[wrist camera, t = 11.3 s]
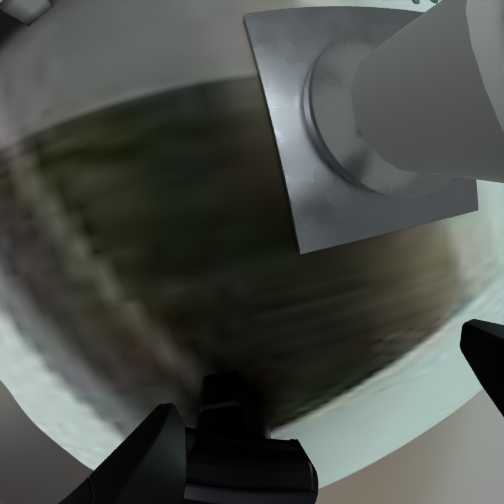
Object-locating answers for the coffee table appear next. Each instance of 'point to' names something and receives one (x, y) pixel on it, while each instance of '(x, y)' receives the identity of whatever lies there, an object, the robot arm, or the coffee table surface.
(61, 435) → the coffee table surface
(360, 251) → the coffee table surface
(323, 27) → the square metal dish
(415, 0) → the decorative book
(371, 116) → the can
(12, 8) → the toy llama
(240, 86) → the coffee table surface
